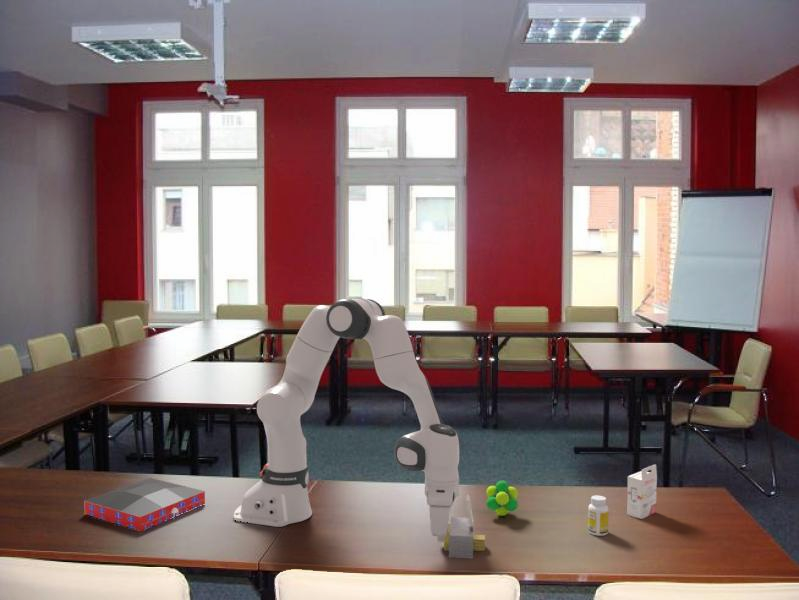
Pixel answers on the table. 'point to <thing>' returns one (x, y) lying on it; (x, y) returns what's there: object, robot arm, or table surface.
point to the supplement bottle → (598, 516)
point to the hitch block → (460, 538)
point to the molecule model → (502, 498)
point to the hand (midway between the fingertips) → (441, 539)
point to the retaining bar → (469, 511)
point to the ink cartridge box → (642, 493)
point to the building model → (144, 503)
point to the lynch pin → (477, 541)
